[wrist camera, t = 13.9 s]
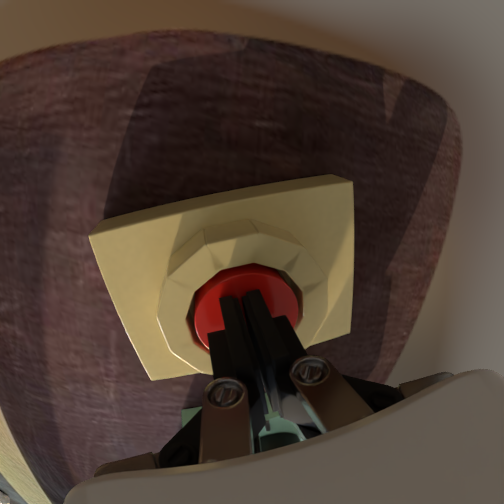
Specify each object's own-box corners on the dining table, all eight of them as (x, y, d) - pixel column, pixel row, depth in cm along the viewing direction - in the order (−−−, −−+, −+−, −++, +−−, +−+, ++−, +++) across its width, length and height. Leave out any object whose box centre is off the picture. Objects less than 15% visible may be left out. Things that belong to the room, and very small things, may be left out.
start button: (282, 245, 13) (295, 262, 11) (289, 323, 15) (300, 345, 13) (182, 267, 12) (182, 287, 11) (205, 343, 14) (208, 367, 12)
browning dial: (238, 441, 18) (253, 500, 14) (298, 425, 19) (320, 482, 14) (249, 462, 20) (262, 512, 15) (300, 449, 21) (319, 497, 16)
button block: (332, 173, 14) (375, 189, 11) (335, 313, 18) (364, 352, 15) (100, 220, 13) (73, 251, 9) (153, 356, 17) (149, 405, 13)
